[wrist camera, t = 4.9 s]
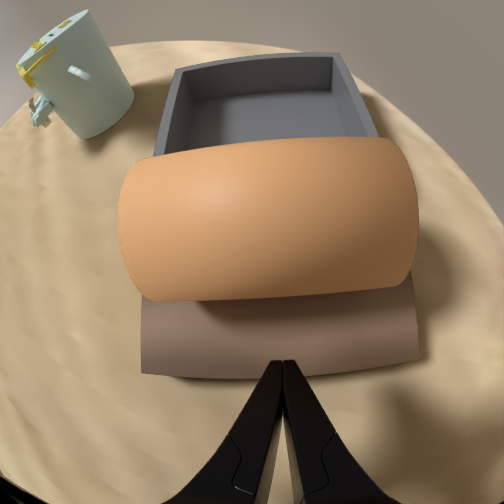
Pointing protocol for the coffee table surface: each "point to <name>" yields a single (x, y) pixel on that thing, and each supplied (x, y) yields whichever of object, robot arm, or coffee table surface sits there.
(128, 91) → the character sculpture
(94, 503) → the coffee table surface
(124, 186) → the roller
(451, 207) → the coffee table surface
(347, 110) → the tray
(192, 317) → the board
